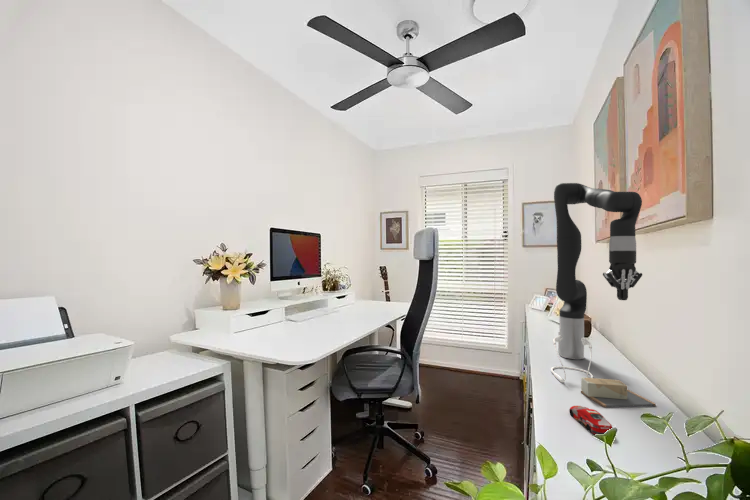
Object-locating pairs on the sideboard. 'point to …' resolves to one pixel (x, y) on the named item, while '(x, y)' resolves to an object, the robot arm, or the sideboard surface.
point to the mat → (623, 401)
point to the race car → (590, 419)
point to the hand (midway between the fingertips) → (622, 299)
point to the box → (604, 388)
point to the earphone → (584, 342)
